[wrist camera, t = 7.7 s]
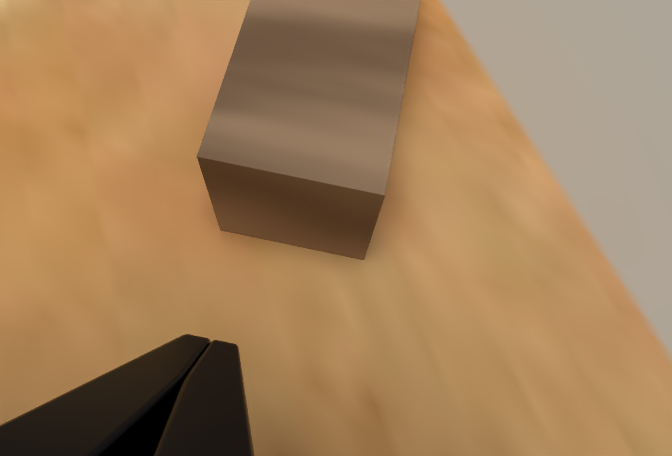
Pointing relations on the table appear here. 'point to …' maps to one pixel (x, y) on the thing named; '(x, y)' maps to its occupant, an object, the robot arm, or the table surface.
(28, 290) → the table surface
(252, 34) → the walnut block
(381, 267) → the table surface
